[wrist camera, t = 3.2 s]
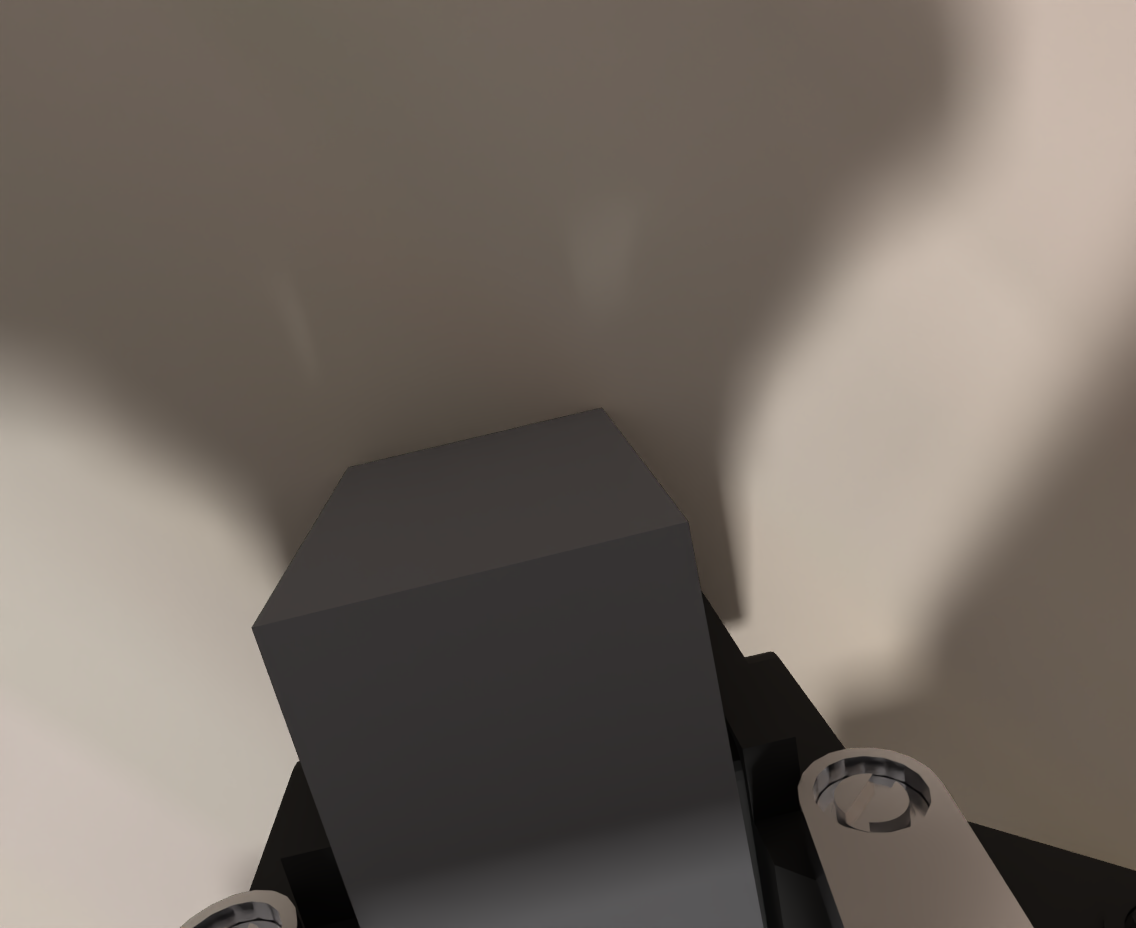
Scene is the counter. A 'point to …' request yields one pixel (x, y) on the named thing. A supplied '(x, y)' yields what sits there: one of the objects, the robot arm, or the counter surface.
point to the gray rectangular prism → (512, 691)
